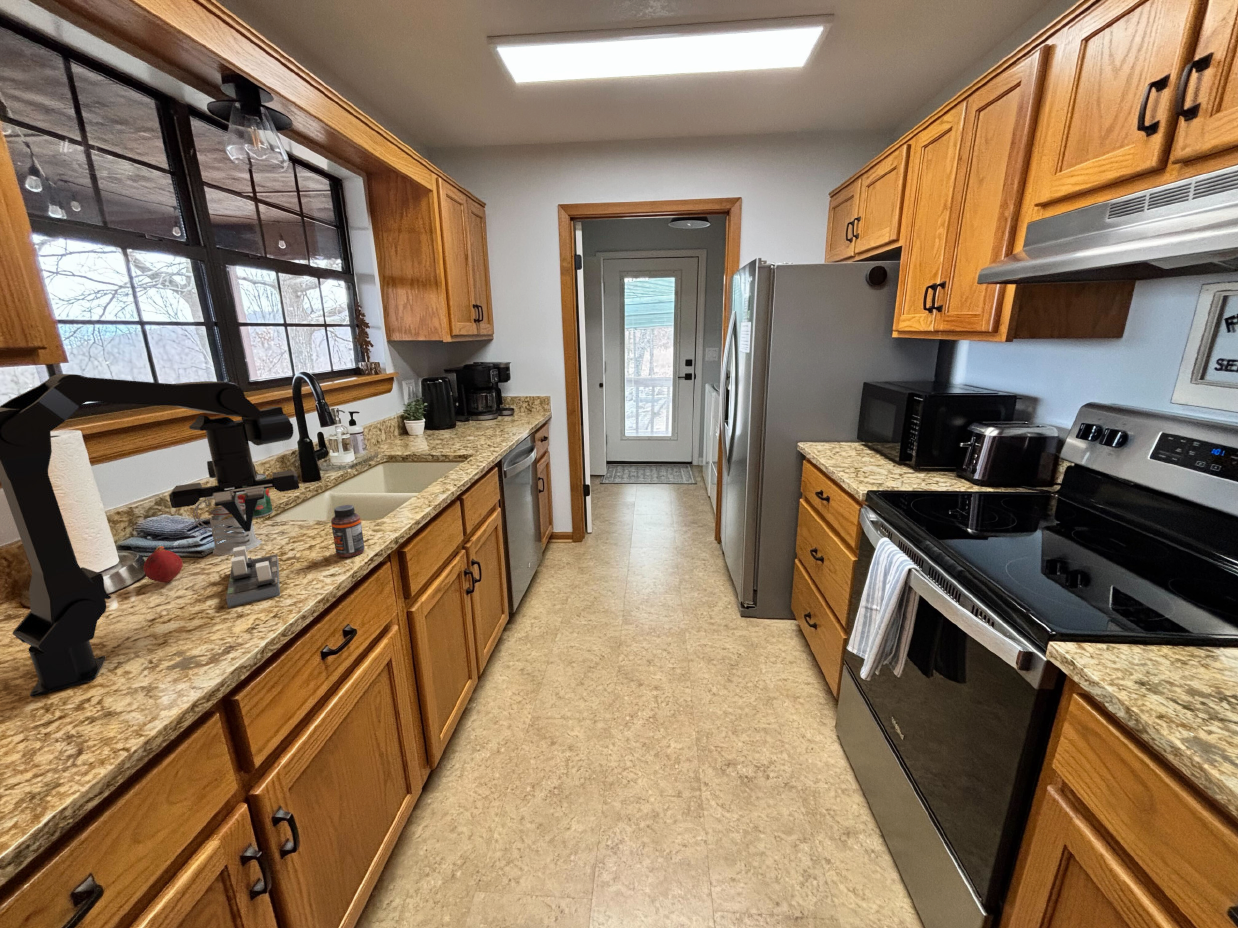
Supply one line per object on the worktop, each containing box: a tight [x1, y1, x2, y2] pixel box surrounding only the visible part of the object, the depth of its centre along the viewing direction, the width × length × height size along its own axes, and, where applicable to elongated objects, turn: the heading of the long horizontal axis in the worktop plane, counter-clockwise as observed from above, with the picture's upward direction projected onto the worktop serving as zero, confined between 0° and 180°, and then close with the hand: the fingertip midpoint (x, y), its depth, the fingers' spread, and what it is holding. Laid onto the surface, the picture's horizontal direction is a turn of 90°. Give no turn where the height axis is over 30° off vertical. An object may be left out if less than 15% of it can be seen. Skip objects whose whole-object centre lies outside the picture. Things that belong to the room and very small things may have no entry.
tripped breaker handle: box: [256, 561, 275, 586], centre depth 96 cm, size 3×3×4 cm
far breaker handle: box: [232, 546, 252, 566], centre depth 104 cm, size 3×3×4 cm
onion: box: [143, 545, 184, 584], centre depth 101 cm, size 6×6×8 cm
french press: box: [192, 488, 263, 556], centre depth 116 cm, size 10×12×25 cm
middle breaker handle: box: [230, 556, 251, 580], centre depth 99 cm, size 3×3×4 cm
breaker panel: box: [226, 553, 281, 609], centre depth 101 cm, size 18×8×2 cm, turn 35°
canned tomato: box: [237, 473, 274, 519], centre depth 141 cm, size 8×8×11 cm
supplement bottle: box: [330, 504, 365, 559], centre depth 114 cm, size 6×6×11 cm
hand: (247, 530), depth 94 cm, fingers closed
